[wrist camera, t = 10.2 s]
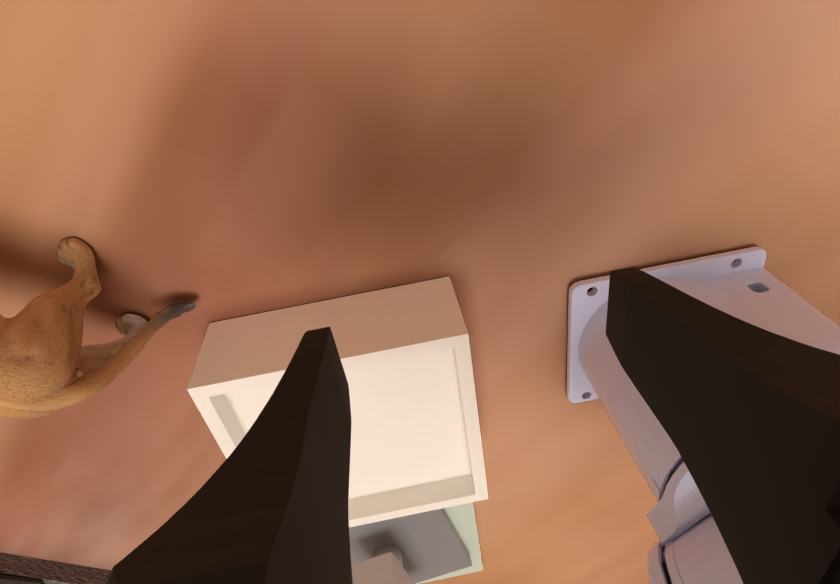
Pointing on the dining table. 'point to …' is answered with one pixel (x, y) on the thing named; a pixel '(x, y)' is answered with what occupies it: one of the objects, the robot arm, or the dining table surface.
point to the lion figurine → (66, 343)
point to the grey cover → (406, 549)
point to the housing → (365, 392)
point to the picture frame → (47, 572)
